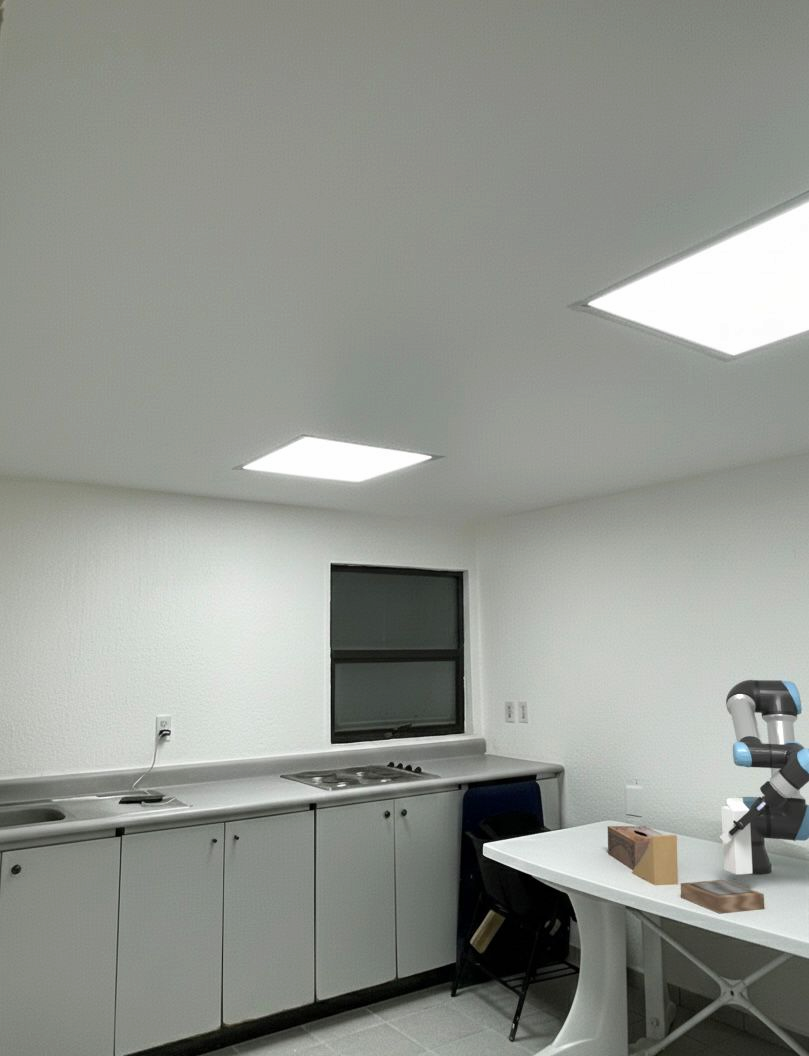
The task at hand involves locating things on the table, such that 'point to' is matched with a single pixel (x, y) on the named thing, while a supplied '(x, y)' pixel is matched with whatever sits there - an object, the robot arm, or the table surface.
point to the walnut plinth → (722, 896)
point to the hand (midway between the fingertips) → (725, 837)
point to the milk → (736, 839)
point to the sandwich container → (659, 861)
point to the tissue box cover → (629, 843)
